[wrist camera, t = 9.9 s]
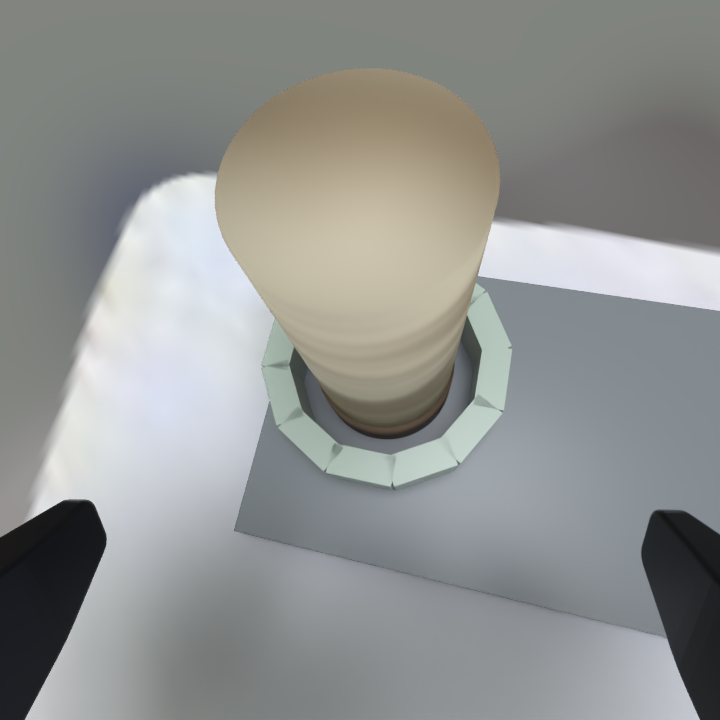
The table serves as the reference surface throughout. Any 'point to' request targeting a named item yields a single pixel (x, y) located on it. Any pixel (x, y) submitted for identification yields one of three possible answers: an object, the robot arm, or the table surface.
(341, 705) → the table surface
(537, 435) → the thin grey base plate
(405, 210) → the birch peg
